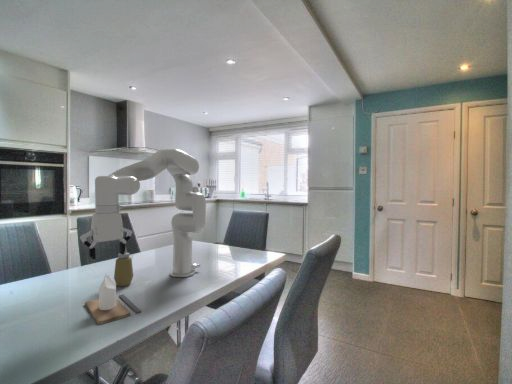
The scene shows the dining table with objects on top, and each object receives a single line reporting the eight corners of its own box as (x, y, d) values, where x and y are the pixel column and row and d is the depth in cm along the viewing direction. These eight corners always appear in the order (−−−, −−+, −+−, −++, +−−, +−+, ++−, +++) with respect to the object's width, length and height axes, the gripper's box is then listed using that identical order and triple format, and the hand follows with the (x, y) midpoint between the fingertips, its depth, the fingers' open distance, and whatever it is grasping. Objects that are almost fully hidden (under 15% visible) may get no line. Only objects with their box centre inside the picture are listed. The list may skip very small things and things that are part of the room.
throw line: (123, 295, 116) (123, 294, 116) (141, 312, 101) (141, 310, 101) (119, 296, 115) (119, 295, 115) (136, 313, 100) (136, 312, 100)
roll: (111, 277, 100) (95, 277, 99) (111, 310, 100) (95, 310, 100) (118, 272, 106) (103, 272, 105) (118, 303, 106) (103, 303, 106)
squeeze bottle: (137, 282, 131) (137, 244, 131) (123, 288, 123) (124, 248, 123) (123, 280, 134) (123, 243, 133) (109, 286, 126) (109, 246, 126)
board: (113, 297, 114) (113, 295, 114) (130, 315, 99) (130, 312, 99) (85, 304, 107) (85, 302, 107) (98, 324, 92) (98, 321, 92)
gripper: (128, 207, 110) (129, 250, 111) (77, 210, 99) (78, 258, 100) (135, 209, 105) (135, 254, 106) (82, 212, 93) (83, 263, 94)
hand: (108, 256), depth 103 cm, fingers open, 9 cm apart
